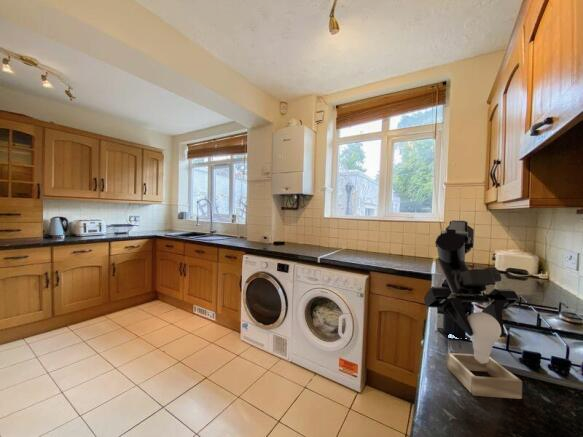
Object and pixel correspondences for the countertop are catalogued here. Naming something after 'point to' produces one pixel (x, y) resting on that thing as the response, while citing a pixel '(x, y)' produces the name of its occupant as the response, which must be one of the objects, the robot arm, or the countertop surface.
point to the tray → (493, 386)
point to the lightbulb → (483, 334)
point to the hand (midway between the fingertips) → (486, 336)
